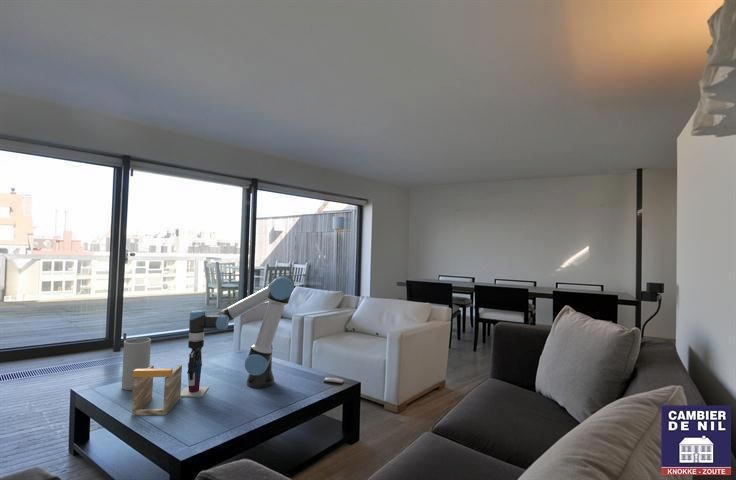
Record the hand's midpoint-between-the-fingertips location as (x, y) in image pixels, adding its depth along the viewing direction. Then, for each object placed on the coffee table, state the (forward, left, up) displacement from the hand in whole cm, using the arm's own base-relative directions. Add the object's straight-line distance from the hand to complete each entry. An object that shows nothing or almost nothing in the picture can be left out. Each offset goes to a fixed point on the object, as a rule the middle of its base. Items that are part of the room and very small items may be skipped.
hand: (194, 382), depth 202 cm
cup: (0, 0, -5) cm, 5 cm away
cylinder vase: (+33, -10, -6) cm, 35 cm away
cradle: (+12, +17, -6) cm, 21 cm away
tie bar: (+12, +24, +11) cm, 29 cm away
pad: (0, 0, -6) cm, 6 cm away
